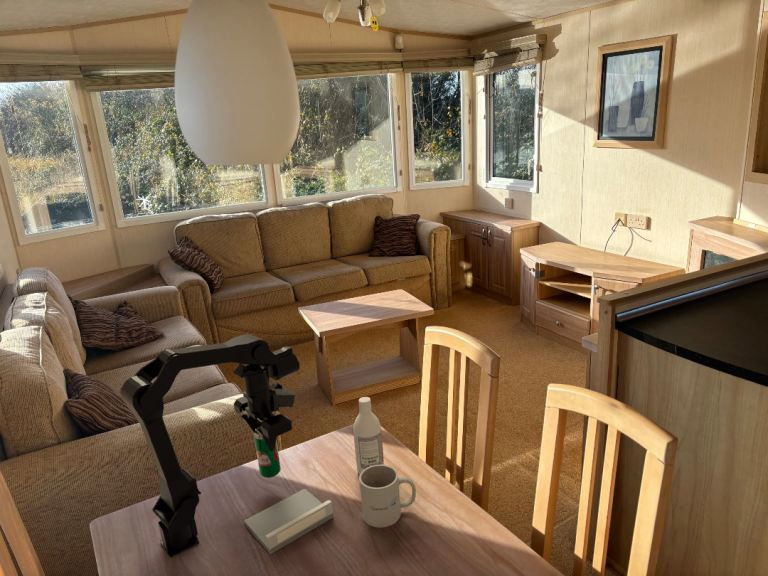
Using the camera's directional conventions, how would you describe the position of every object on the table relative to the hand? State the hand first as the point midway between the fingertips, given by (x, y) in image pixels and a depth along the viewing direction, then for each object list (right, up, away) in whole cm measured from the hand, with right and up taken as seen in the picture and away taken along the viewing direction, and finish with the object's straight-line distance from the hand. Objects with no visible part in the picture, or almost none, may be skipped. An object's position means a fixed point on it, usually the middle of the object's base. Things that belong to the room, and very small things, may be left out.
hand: (266, 445), depth 133 cm
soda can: (0, -7, +2) cm, 8 cm away
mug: (+29, -13, -8) cm, 33 cm away
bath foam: (+25, -9, +8) cm, 28 cm away
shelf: (+7, -15, -8) cm, 18 cm away
